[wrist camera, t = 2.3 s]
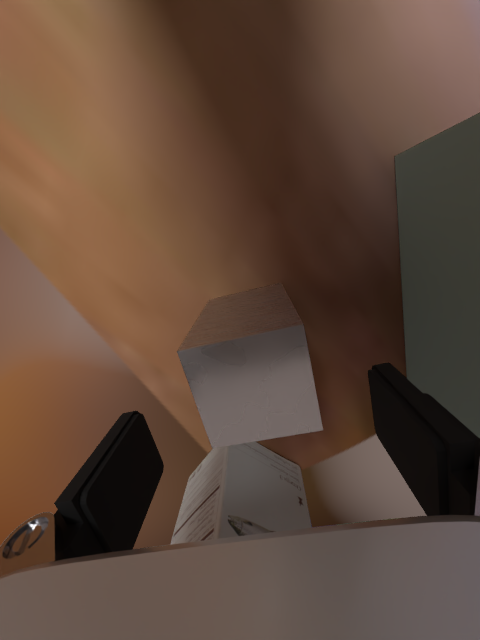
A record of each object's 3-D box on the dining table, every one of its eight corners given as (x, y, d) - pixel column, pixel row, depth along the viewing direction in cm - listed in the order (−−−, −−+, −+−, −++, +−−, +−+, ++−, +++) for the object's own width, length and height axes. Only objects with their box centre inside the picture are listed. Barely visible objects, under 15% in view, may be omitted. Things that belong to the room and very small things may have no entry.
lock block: (209, 299, 18) (176, 351, 10) (281, 282, 17) (303, 324, 10) (228, 362, 19) (212, 448, 12) (294, 349, 19) (323, 430, 11)
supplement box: (302, 464, 22) (360, 735, 10) (252, 511, 24) (252, 781, 12) (231, 422, 21) (202, 672, 9) (185, 476, 23) (114, 734, 11)
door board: (392, 156, 14) (640, 28, 5) (434, 145, 14) (773, -12, 5) (408, 436, 21) (534, 603, 11) (437, 431, 20) (591, 598, 11)
